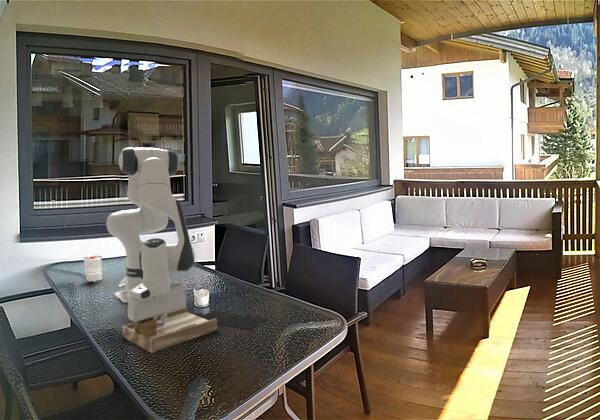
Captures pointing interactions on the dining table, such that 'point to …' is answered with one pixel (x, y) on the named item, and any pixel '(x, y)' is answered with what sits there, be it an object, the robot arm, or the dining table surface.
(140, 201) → the robot arm
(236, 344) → the dining table surface
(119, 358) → the dining table surface
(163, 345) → the box
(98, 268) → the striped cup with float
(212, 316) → the black flat board
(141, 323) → the block
